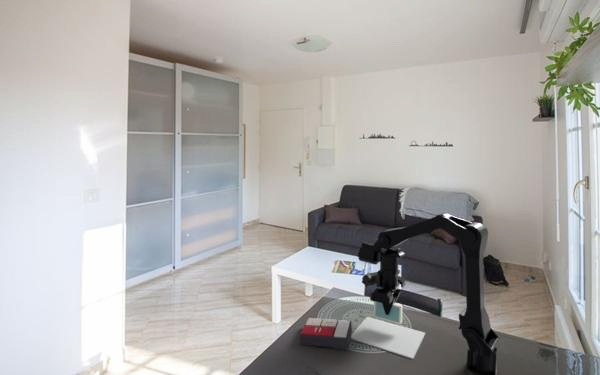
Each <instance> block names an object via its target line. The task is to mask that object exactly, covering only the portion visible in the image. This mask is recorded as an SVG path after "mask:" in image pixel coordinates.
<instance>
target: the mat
mask: <svg viewBox="0 0 600 375" xmlns="http://www.w3.org/2000/svg"><path fill="white" fill-rule="evenodd" d="M425 335H426V332H424V331H421V330H416V329H413V328H410V327H406V326H403V325H400V324H397V323H393V322H389V321H386V320H382V319H378V318H375V317H370V316H367V317H366V318H364V320H363V321H362V322H361V323H360V324H359V325H358V327H357V328H356V329H355V330H354V331H352V335H351V339H350V340H353V341H356V342H358V343H362V344H365V345H369V346H371V347H373V348H377V349H380V350H384V351H386V352H390V353H392V354H396V355H399V356H402V357H405V358H407V359H411V360H414V359H415V356H416V354H417V352H418V350H419V348H420V346H421V344H422V343H423V340H424V337H425Z"/></svg>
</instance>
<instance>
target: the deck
mask: <svg viewBox="0 0 600 375" xmlns="http://www.w3.org/2000/svg"><path fill="white" fill-rule="evenodd" d="M373 318H374V319H378V320H381V321H385V322H388V323H392V324H396V325H399V326H402V324H403V304H402V303H397V302H396V303H394V304H393V306H392V309H391V311H390V313H389V315H386V314H385V311H384V308H383V304H382V303H379V302H375V301H373Z"/></svg>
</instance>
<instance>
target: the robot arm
mask: <svg viewBox="0 0 600 375" xmlns="http://www.w3.org/2000/svg"><path fill="white" fill-rule="evenodd" d="M436 230H442V231H444V232H445V233H447V234H448V235H450V236H451V237H453V238H455V239H457V240H458V241H459V246H460V249H461V251H462V254H463V256H464V264H465V265H464V266H465V268H464V270H465V295H466V297H465V300H466V302H465V304H466V306H465V307H464V308H463V310H461V312H460V313H459V314H458V321H459V327H458V330H460V331H461V336H462V337H463V338H464V339H465V340H466V343H467V346H468V347H467V353H466V354H467V355H466V357H467V358H466V365H468V368H467V370H468V371H469V372H471V373H475V374H477V375H497V369H498V365H497V362H498V361H497V358H498V347H496V346H497V344H499V343H498V342H499V341H500V340H501V339H500V336H499V335H498V334H497V333H496V332H495V331H494V330H493V329H492V327H491V322H490V317H489V314H488V312H487V309H486V307H485V286H484V285H485V284H484V283H485V282H484V254H485V252H486V248H487V243H488V237H489V231H488V228H487V227H486V226H485V225H484V224H482V223H481V222H471V221H469V220H466V219H463V218H461V217H460V218H459V217H456V216H454V215H452V214H450V213H448V212H447V213H446V212H443V213H439V214H437V215H435V216H434V217H430V218H428V219H425V220H422V221H420V222H417V223H414V224H411V225H408V226H402V227H395V228H389V229H386V230H384V231H380V232H379V233H378V236H377V240H376V241H375V243H370V242H368V241H364V242H362V243H361V246H360V248H359V251H358V253H357V257H358V258H357V259H358V260H359V262H363V263H367V264H372V265H376V266H377V265H378V264H380V265H379V270H377V271H375V272H369V273H366V274H364V275H363V276H362V277H361V279H362V281H361V283H362V284H363V285H364V286H365V287H369V286H375V285H376V287H377V288H375V289H373V290H372V291H371V293H369V299H370V301H372V302H374V301H375V302H379V303H382V304H383V308H384V311H385V314H386V315H389V313H390V311H391V309H392V306H393V304H394V303H397V301H398V299H399V296H400V294H401V293H402V290H401V289H398V288H399V287H400V286H401V287H400V288H404V287H405V286H406V279H405V277H404V276H399V274H400V273H401V270H400V269H399V258H400V259H401V258H402V257H404V256H405V255H406V253H405V252H404V251H402V249H401V248H400V247H399V248H397V249H392V248H394V247H397V246H399V245H401V244H403V243H405V242H406V241H408V240H409V239H411V238H415V237H417V236H418V237H419V236H421V235H424V234H427V233H430V232H434V231H436Z"/></svg>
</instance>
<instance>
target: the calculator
mask: <svg viewBox="0 0 600 375" xmlns="http://www.w3.org/2000/svg"><path fill="white" fill-rule="evenodd" d="M352 324H353V323H352V321H351V320H344V319H343V320H341V319H339V320H338V319H335V318H334V319H333V318H317V317H315V318H313V317H308V319H307V320H306V322H305V324H304V326H303V328H302V330H301V332H300V334H299V344H300V345H303V346H316V347H330V348H331V347H332V348H334V349H336V350H344V351H347V350H349V348H350V344H351V343H350V342H351V340H352V339H351V335H352V333H353V328H352V327H353V326H352Z"/></svg>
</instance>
